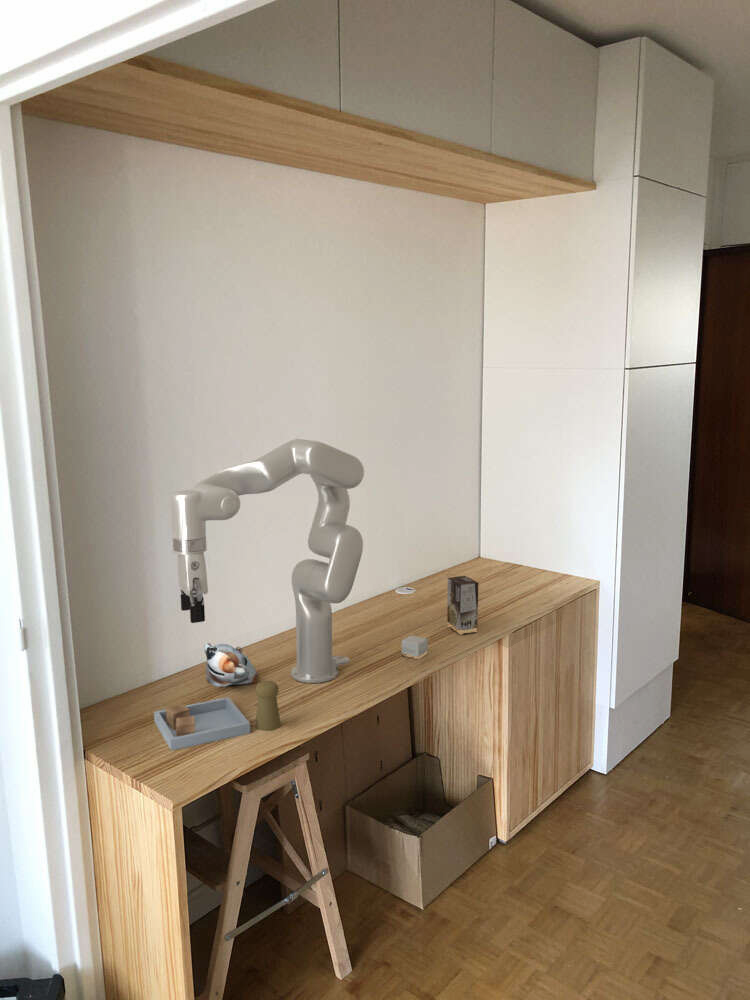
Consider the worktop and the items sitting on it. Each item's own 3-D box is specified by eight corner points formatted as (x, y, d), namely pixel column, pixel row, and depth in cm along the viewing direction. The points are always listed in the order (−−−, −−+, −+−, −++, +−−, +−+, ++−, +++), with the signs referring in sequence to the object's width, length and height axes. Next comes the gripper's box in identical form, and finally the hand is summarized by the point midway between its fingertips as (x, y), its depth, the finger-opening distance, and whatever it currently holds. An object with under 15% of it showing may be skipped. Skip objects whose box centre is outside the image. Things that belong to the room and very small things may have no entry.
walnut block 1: (182, 719, 195) (182, 703, 194) (190, 725, 192) (189, 709, 191) (166, 724, 193) (165, 708, 192) (173, 730, 189) (173, 714, 189)
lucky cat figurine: (268, 678, 221) (263, 643, 212) (236, 708, 213) (229, 674, 204) (227, 652, 228) (221, 617, 219) (195, 680, 220) (187, 645, 211)
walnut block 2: (195, 732, 188) (194, 716, 188) (195, 740, 185) (194, 724, 184) (177, 734, 188) (176, 717, 187) (176, 742, 184) (176, 725, 183)
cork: (268, 719, 197) (267, 675, 195) (286, 726, 193) (285, 682, 191) (249, 728, 192) (248, 683, 190) (267, 736, 188) (266, 690, 186)
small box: (428, 654, 238) (428, 638, 237) (418, 660, 233) (418, 644, 232) (411, 650, 241) (411, 634, 240) (400, 656, 236) (400, 640, 235)
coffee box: (478, 633, 255) (479, 582, 252) (459, 635, 253) (460, 584, 250) (464, 623, 264) (465, 574, 261) (446, 626, 261) (447, 577, 258)
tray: (228, 708, 202) (228, 696, 202) (250, 735, 188) (249, 723, 188) (154, 723, 194) (153, 711, 194) (171, 753, 180) (170, 740, 180)
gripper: (215, 551, 184) (218, 624, 187) (197, 535, 200) (200, 603, 203) (181, 554, 181) (184, 629, 184) (165, 538, 197) (169, 607, 200)
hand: (192, 615), depth 194 cm, fingers open, 9 cm apart
